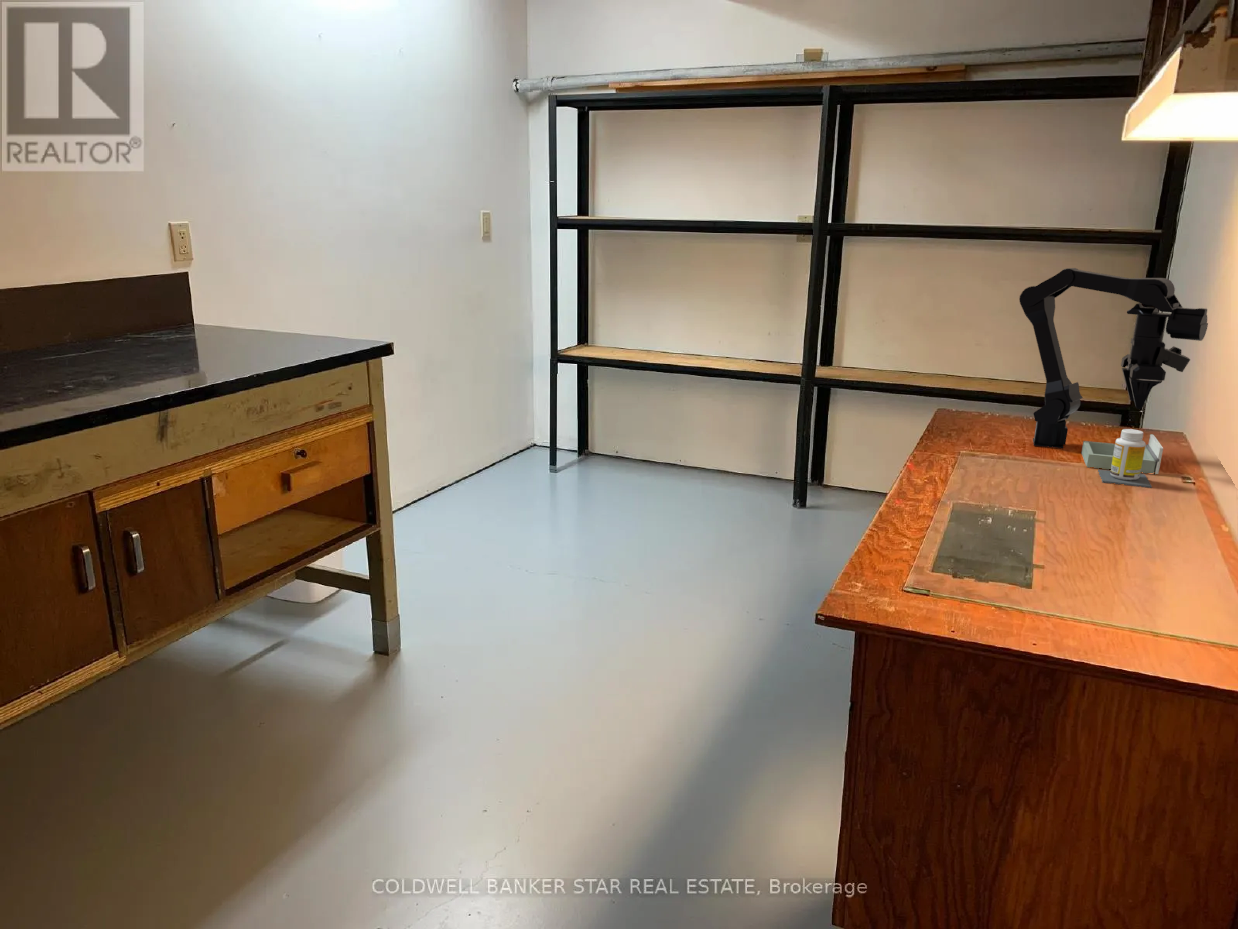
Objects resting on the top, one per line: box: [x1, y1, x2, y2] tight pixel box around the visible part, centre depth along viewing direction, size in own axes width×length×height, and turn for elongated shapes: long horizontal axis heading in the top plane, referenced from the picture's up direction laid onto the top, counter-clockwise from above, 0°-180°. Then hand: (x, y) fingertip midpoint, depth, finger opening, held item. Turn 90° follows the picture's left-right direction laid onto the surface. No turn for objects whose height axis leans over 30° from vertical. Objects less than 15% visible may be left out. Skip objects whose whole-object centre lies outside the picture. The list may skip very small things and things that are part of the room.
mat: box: [1097, 469, 1153, 489], centre depth 183 cm, size 9×9×1 cm
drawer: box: [1081, 433, 1164, 475], centre depth 194 cm, size 14×13×6 cm
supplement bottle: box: [1109, 428, 1147, 480], centre depth 182 cm, size 6×6×10 cm
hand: (1135, 404), depth 195 cm, fingers open, 9 cm apart
